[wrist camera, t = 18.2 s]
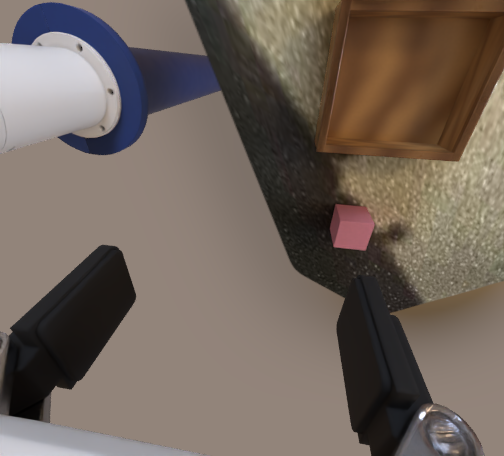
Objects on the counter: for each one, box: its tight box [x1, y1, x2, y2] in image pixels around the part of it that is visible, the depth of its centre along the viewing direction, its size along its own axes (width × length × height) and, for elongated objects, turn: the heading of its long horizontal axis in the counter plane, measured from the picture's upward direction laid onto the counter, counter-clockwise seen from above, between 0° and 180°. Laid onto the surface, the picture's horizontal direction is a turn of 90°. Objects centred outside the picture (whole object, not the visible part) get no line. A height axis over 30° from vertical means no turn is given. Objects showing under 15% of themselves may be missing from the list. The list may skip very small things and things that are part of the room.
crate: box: [315, 0, 504, 161], centre depth 27 cm, size 16×14×5 cm
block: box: [330, 204, 375, 250], centre depth 37 cm, size 4×4×5 cm
